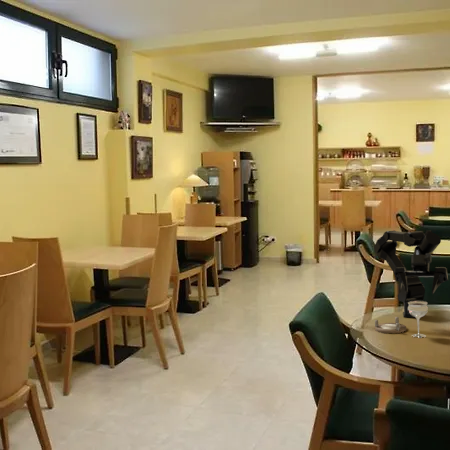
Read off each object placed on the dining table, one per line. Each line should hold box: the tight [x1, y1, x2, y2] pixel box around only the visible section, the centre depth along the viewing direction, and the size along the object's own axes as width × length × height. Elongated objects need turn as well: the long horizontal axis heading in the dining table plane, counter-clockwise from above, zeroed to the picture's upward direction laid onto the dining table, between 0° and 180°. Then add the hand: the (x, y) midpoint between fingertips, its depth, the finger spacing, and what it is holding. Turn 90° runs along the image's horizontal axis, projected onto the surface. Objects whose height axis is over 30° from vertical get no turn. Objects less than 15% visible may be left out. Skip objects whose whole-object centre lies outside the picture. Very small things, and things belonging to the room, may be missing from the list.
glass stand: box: [374, 316, 407, 335], centre depth 211 cm, size 11×11×4 cm
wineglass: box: [408, 300, 429, 339], centre depth 201 cm, size 7×7×12 cm
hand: (419, 292), depth 207 cm, fingers open, 9 cm apart
